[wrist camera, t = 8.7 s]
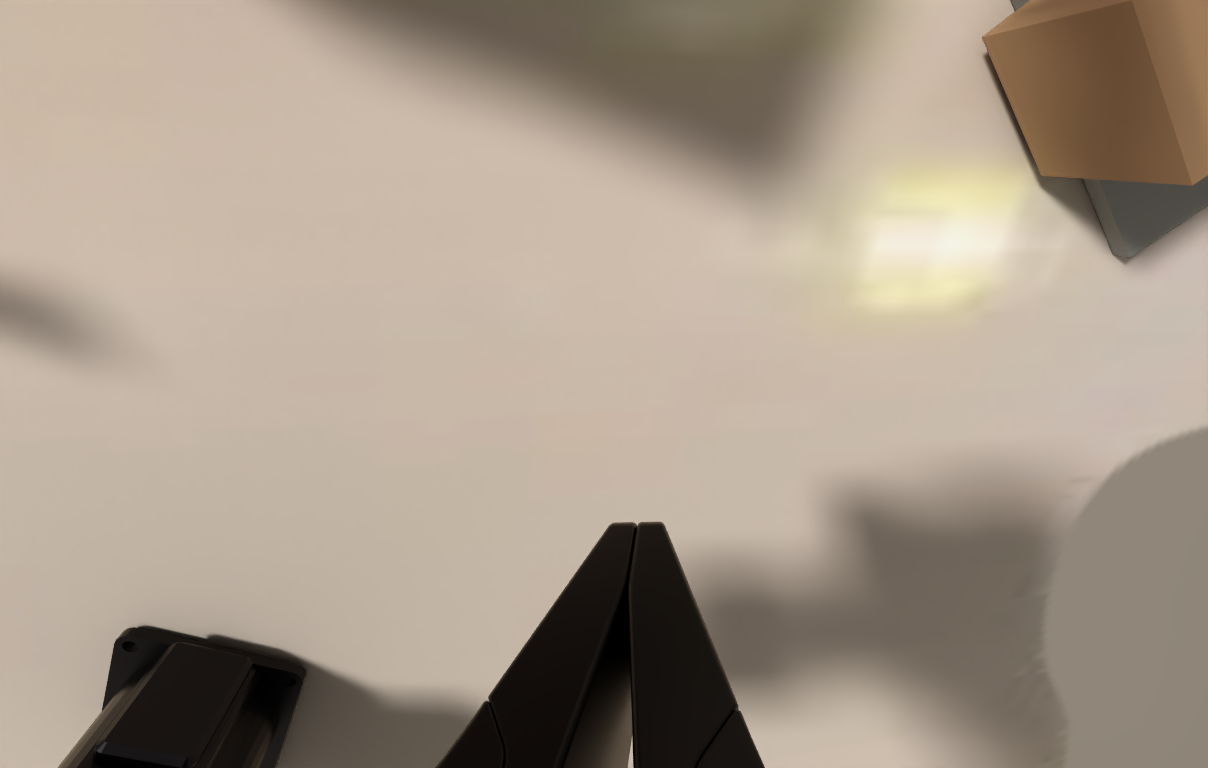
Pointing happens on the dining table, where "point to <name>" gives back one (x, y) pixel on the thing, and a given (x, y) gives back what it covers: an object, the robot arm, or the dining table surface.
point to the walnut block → (1109, 87)
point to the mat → (1140, 206)
